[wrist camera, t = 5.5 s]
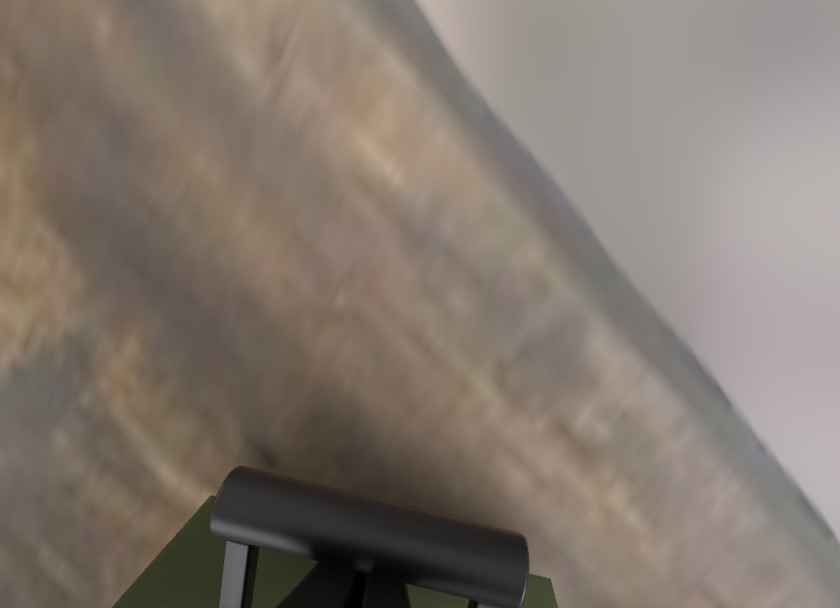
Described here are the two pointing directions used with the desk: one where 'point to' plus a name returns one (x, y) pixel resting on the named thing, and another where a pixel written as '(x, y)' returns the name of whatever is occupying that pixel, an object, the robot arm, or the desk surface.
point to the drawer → (331, 550)
